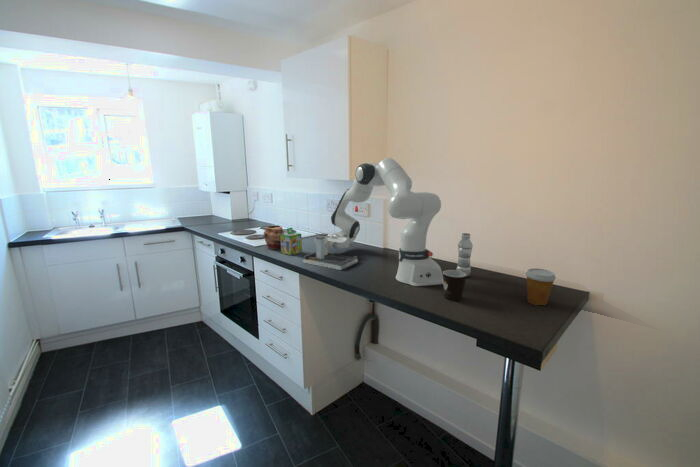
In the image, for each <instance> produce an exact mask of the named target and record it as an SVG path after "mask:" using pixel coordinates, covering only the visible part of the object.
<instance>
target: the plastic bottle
mask: <svg viewBox="0 0 700 467" xmlns="http://www.w3.org/2000/svg"><path fill="white" fill-rule="evenodd" d="M457 246H458V247H457V250H458V251H457V252H458V254H457V255H458V258H457V265H456V269H455V270H458V271H462V272H464V273H466V278H467V277H470V275H471V273H472V270H471V256H472V251H473V248H474V245H473V243H472V241H471V234H470V233H468V232H466V233H465V232H464V233H461V239H460V240H459V242H458V244H457Z"/></svg>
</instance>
